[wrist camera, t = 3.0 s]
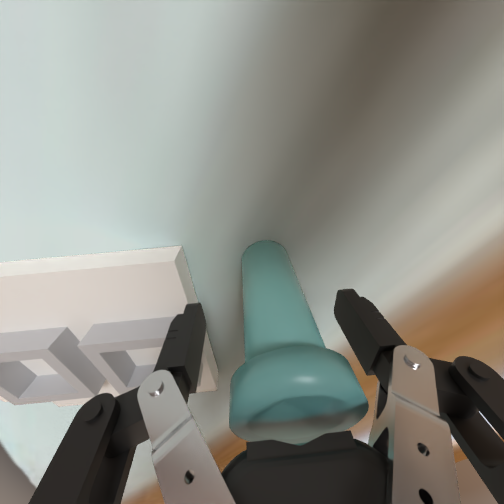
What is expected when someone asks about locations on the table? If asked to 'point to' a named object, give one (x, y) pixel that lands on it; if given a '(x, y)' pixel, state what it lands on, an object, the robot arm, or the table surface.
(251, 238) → the table surface
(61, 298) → the housing
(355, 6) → the table surface
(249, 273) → the teal flared handle
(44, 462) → the table surface
